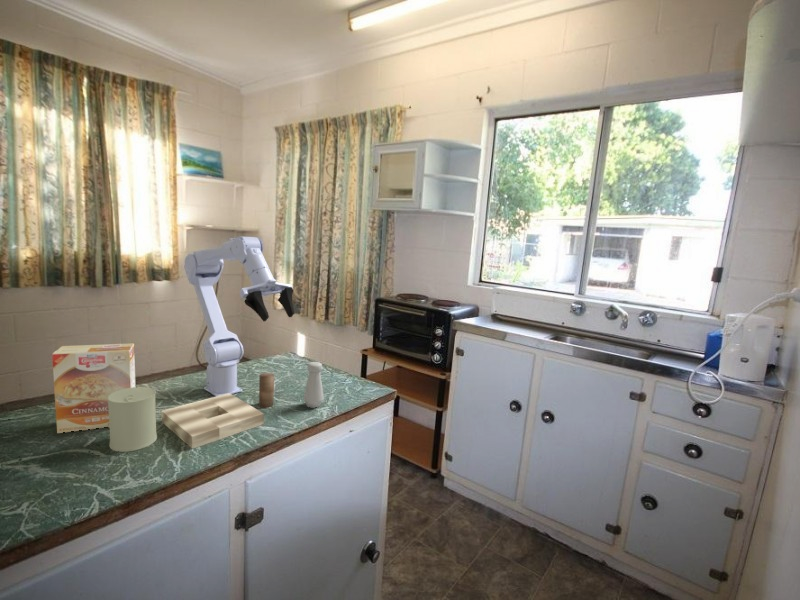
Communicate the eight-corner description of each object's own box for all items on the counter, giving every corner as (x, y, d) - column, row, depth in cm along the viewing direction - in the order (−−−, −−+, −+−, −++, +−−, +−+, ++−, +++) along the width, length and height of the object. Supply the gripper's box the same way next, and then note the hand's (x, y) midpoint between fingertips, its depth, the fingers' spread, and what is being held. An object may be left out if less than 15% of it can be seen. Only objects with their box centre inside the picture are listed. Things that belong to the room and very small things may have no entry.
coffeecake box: (56, 434, 94) (50, 353, 91) (65, 420, 100) (60, 345, 97) (132, 425, 100) (129, 349, 97) (137, 413, 107) (134, 342, 104)
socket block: (161, 421, 103) (161, 410, 102) (229, 402, 117) (229, 392, 116) (192, 448, 92) (192, 436, 91) (263, 424, 105) (263, 413, 105)
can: (105, 455, 87) (103, 402, 85) (112, 435, 95) (110, 387, 93) (155, 447, 91) (154, 397, 89) (158, 429, 99) (157, 382, 97)
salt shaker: (318, 410, 116) (320, 367, 114) (300, 407, 117) (301, 364, 115) (326, 402, 121) (328, 361, 119) (308, 400, 122) (309, 359, 120)
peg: (256, 404, 117) (256, 375, 115) (268, 401, 120) (269, 372, 118) (263, 409, 114) (264, 378, 113) (276, 405, 117) (276, 375, 116)
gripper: (240, 266, 100) (260, 312, 96) (289, 264, 111) (309, 305, 107) (229, 282, 104) (248, 327, 100) (278, 279, 115) (297, 319, 111)
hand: (279, 317), depth 104 cm, fingers open, 7 cm apart
